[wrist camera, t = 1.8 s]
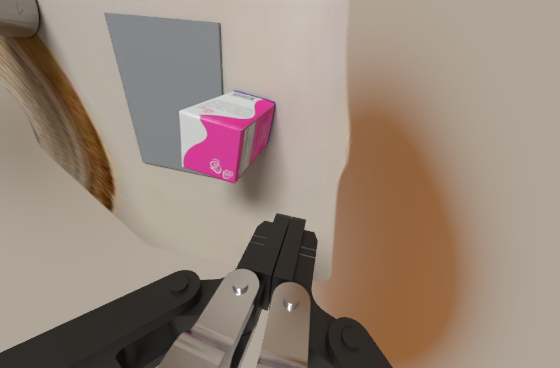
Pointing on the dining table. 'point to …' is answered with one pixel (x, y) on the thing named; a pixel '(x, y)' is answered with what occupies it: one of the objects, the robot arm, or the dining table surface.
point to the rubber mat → (165, 77)
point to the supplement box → (225, 134)
